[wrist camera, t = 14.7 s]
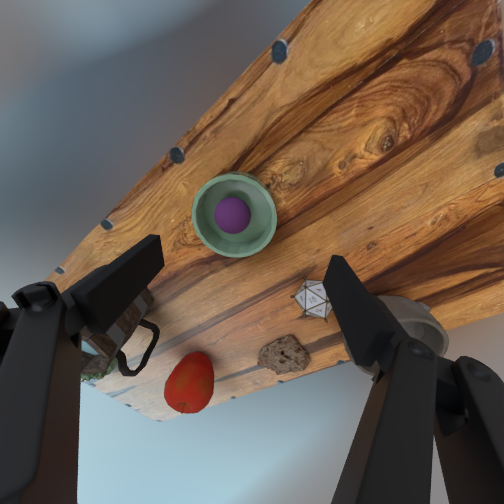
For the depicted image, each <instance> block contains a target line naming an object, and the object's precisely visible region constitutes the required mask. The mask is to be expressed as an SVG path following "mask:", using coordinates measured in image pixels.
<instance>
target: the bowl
mask: <svg viewBox="0 0 504 504" xmlns="http://www.w3.org/2000/svg"><path fill="white" fill-rule="evenodd" d="M377 297H378V298H379V299H381V300H382V301H383V302H384V303H385V304H386V306H387V307H388V308H389V310H390V311H391V312H392V314H393V316H395V317H396V319H397V320H398V321H399V323H400V324H401V325H402V327H403V328H404V329H405V330H406V332H407V333H408V334H409V336H410V337H413V338H415V339H418V340H420V341H422V342H423V343H425V344H426V345H427V346H429V347H430V348H431V349H432V350H433V351H434V353H435V354H436V355H437V356H440V357H443V356H444V355H445V353H446V351H447V349H448V345H449V338H448V335H447V333H446V331H445V330H444V329H443V327H442V326H441V325H440V323H439V322H438V321H437V320H436V319H435V318H434V317H433V316H432V315H431V314H430V313H429V311H431V309H430V307H428V306H427V305H426V304H424V303H422V302H414V301H412V300H410V299H408V298H404V297H401V296H387V295H380V296H377ZM342 337H343V342H344V346H345V349H346V352H347V353H348V355H349V357H350V359H351V360H352V362H354V364H355V361H354V359H353V357H352V354H351V352H350V349H349V347H348V345H347V342H346V340H345V337H344V335H343V333H342ZM355 365H356V364H355ZM357 366H358V365H357ZM358 367H359V368H360V369H361V370H362V371H363V372H365V373H367V374H369V375H372V376H374V375H375V374H376V373H377V371H378V370H379V369H380V366H379V364H378V362H377V360H376V361H375V362H374V364H373V365H372V367H366V366H358Z"/></svg>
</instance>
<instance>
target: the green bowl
mask: <svg viewBox="0 0 504 504" xmlns="http://www.w3.org/2000/svg"><path fill="white" fill-rule="evenodd" d="M227 197H237V198H240V199H242V200H243V201H244V202H246V204H247V205H248V207H249V209H250V212H251V219H250V223H249V225H248V226H247V228H246V229H245V230H244V231H242V232H240V233H237V234H229V233H226V232H224V231H222V230H221V229H220V228H219V227H218V226H217V224H216V222H215V219H214V212H215V208H216V206H217V204H218V203H219V202H220V201H221V200H223V199H224V198H227ZM192 223H193V226H194V228H195V231H196V233H197V235H198V236H199V238H200V239H201V240H202V242H203V243H204V244H205V245H206V246H208V247H209V248H210V249H212V250H213V251H214V252H216V253H219V254H221V255H224V256H226V257H235V258H240V257H246V256H251V255H253V254H255V253H257V252H259V251H261V250H262V249H263V248H264V247H265V246H266V245H267V244H268V243H269V242H270V240H271V238H272V237H273V235H274V233H275V230H276V224H277V213H276V208H275V202H274V198H273V196H272V194H271V192H270V190H269V188H268V187H267V186H266V185H265V183H264V182H263V181H261V180H260V179H259V178H257V177H256V176H254V175H252V174H249V173H246V172H241V171H232V172H227V173H224V174H221V175H219V176H217V177H215V178H213V179H212V180H210V181H209V182H207V183H206V184H204V185H203V186H202V187H201V189H200V190H199V192H198V193H197V194H196V196H195V198H194V202H193V206H192Z"/></svg>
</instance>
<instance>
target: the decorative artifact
mask: <svg viewBox="0 0 504 504" xmlns="http://www.w3.org/2000/svg"><path fill="white" fill-rule="evenodd" d="M116 364H117V360H116V358H115V357H114V359H113V360H112V362H111V364H110V365H109V367H108V369H107V371H106V372H102V373H94V374H86V375H83V374H81V378H82V379H83V380H82V381H81V382H83V381H84V380H87V381H89V380H90V379H92V378H93V379H96V378H97V379H102V378H104V376H105V375H108V374H110V373H111V371H112V370H113V368H114V367H115V366H116Z"/></svg>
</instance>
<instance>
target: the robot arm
mask: <svg viewBox="0 0 504 504" xmlns="http://www.w3.org/2000/svg"><path fill="white" fill-rule="evenodd" d="M164 266H165V265H164V258H163V252H162V246H161V240H160V235H153V234H149V235H148V236H147V237H145V238H144V239H142V240H141V241H140V242H138V243H137V244H136V245H134V246H133V247H131V248H130V249H129V250H127V251H126V252H125V253H123V254H122V255H121V256H119V257H118V258H116V259H115V260H114V261H112V262H111V263H110V264H108V265H104V266H101V267H99V268H97V269H95V270H94V271H92V272H91V273H89V274H88V275H87V276H85V277H84V278H82V280H79V281H78V282H77V283H75V284H74V285H72V286H71V287H69V288H68V289H67V290H65V291H64V292H62V293H61V294H60V292H59V291H58V289H57V287H56V285H55V283H53V282H48V281H44V282H37V283H34V284H30V285H27V286H25V287H23V288H21V289H19V290H18V291H16V292H15V293H14V294H13V295H12V298H13V299H14V301H15V302H16V304H17V305H18V306H19V308H11V309H8V308H7V307H6V305H5V304H4V303H3V302H1V301H0V504H77V481H78V479H77V478H78V448H79V415H80V384H81V383H80V382H81V352H82V334H81V332H80V330H81V329H82V328H84V327H85V326H87V328H88V330H89V332H90V333H94V334H102V335H104V334H105V333H106V332H107V331H108V330H109V329H110V327H111V326H112V325H113V324H114V323H115V322H116V321H117V319H118V318H119V317H120V316H121V315H122V314H123V313H124V311H125V310H126V309H127V308H128V307H129V306H130V305H131V303H132V302H133V301H134V300H135V299H136V298H137V297H138V295H139V294H140V293H141V292H142V291H143V290H144V289H145V287H146V286H147V285H148V284H149V283H150V282H151V281H152V279H153V278H154V277H155V276H156V275H157V274H158V273H159V271H160V270H161V269H162V268H163V267H164ZM322 284H323V287H324V289H325V292H326V294H327V297H328V299H329V301H330V304H331V306H332V309H333V311H334V313H335V316H336V318H337V321H338V323H339V325H340V328H341V330H342V333H343V335H344V337H345V340H346V342H347V345H348V347H349V349H350V352H351V354H352V357H353V359H354V361H355V364H356V365H358V366H366V367H372V365H373V364H374V362H375V361H376V360H377V362H378V364H379V366H380V369H379V370H378V371H377V373H376V374H375V375H374V377H373V378H372V381H373V382H374V383H373V386H372V388H371V391H370V394H369V397H368V400H367V403H366V405H365V408H364V411H363V414H362V417H361V420H360V422H359V425H358V428H357V431H356V434H355V437H354V440H353V442H352V445H351V448H350V451H349V454H348V457H347V459H346V462H345V465H344V468H343V471H342V474H341V476H340V480H339V482H338V485H337V488H336V491H335V494H334V496H333V499H332V502H331V504H430V491H431V490H430V489H431V473H432V455H433V438H434V437H435V441H436V446H437V450H438V455H439V459H440V464H441V468H442V473H443V477H444V482H445V486H446V491H447V495H448V500H449V504H504V383H503V381H502V380H501V379H500V377H499V376H498V375H497V374H496V373H495V372H494V371H493V370H492V369H490V368H489V367H488V366H486V365H485V364H483V363H482V362H480V361H478V360H475V359H473V358H470V357H467V356H460V358H459V359H457V360H456V361H455V362H454V361H451V360H448V359H445V358H443V357H440V356H437V355H436V354H435V353H434V351H433V350H432V349H431V348H430V347H429V346H427V345H426V344H425V343H423V342H422V341H420V340H418V339H415V338H413V337H410V336H409V334H408V333H407V332H406V330H405V329H404V328H403V327H402V325H401V324H400V323H399V321H398V320H397V319H396V317H395V316H393V314H392V312H391V311H390V310H389V308H388V307H387V306H386V304H385V303H384V302H383V301H382V300H381V299H379V298H378V297H377V296H376V295H370V294H369V292H368V291H367V290H366V288H365V287H364V285H363V284H362V283H361V281H360V280H359V278H358V277H357V276H356V274H355V273H354V271H353V270H352V269H351V267H350V266H349V264H348V263H347V262H346V260H345V259H344V257H343V256H338V255H332V257H331V260H330V263H329V266H328V269H327V271H326V274H325V277H324V280H323V283H322ZM433 436H434V437H433Z"/></svg>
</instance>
